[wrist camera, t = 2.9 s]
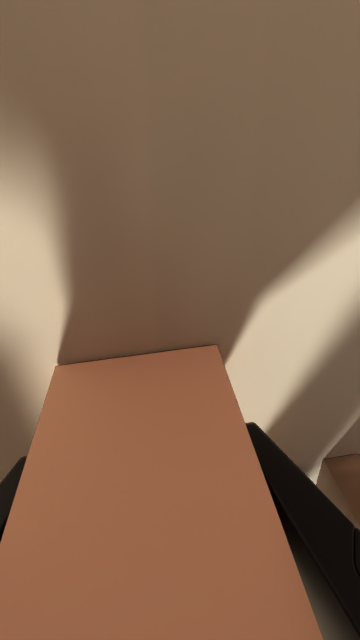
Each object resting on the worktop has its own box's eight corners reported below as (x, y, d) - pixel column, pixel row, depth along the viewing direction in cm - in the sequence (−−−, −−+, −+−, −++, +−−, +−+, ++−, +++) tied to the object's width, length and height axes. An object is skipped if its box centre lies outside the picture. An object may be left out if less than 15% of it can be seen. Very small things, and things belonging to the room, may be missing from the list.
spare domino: (55, 366, 11) (-186, 1140, 3) (216, 344, 11) (443, 973, 3) (69, 403, 12) (-79, 1058, 4) (217, 382, 12) (391, 938, 4)
